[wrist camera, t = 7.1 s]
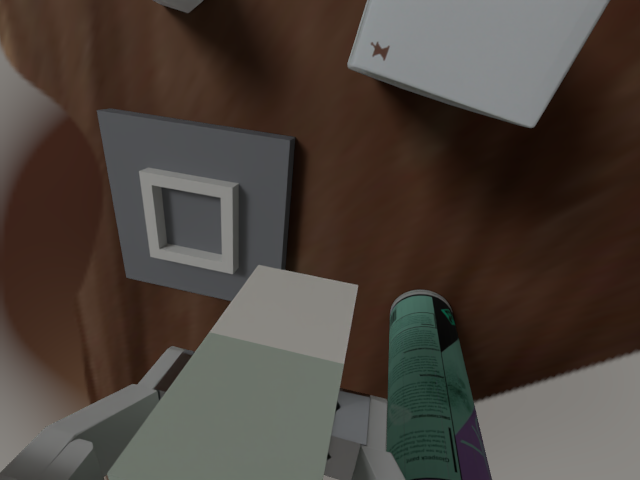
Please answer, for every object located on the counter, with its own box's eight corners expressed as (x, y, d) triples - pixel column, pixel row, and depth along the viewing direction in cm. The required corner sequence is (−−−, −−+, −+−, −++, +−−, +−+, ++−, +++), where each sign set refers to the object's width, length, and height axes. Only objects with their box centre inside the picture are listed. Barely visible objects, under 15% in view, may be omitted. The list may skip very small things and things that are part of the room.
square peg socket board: (110, 108, 28) (84, 111, 26) (295, 137, 26) (285, 143, 24) (136, 270, 36) (117, 284, 33) (282, 302, 34) (274, 319, 31)
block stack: (258, 264, 13) (107, 473, 6) (358, 285, 13) (312, 536, 6) (255, 340, 15) (136, 567, 8) (343, 361, 15) (294, 622, 8)
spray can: (399, 341, 33) (402, 648, 15) (382, 295, 31) (365, 585, 13) (458, 333, 31) (538, 669, 14) (444, 283, 29) (517, 599, 12)
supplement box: (467, 108, 23) (532, 139, 12) (365, 71, 24) (338, 68, 12) (531, -20, 20) (704, -140, 9) (411, -62, 20) (430, -232, 9)
